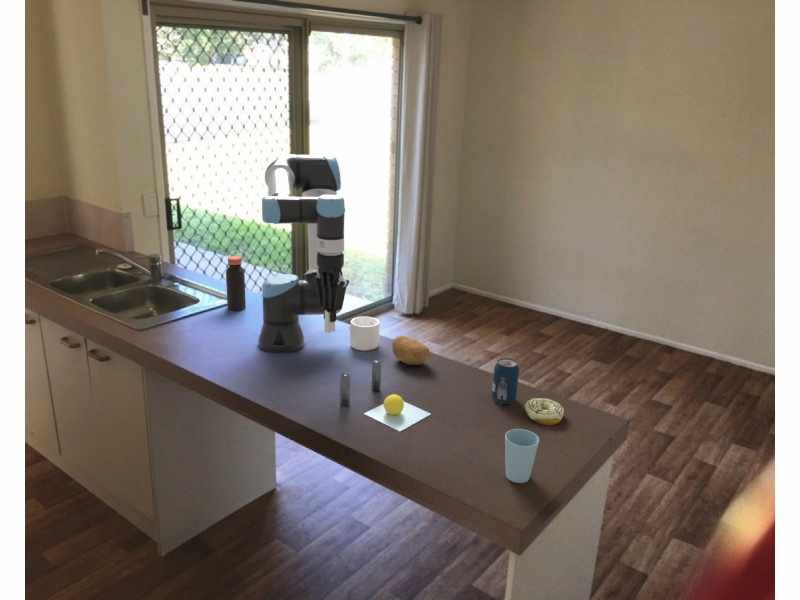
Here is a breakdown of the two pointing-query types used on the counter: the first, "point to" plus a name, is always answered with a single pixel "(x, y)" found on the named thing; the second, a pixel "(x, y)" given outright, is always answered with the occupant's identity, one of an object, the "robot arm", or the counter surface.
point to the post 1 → (345, 390)
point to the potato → (410, 350)
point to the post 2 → (376, 375)
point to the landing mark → (398, 416)
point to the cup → (520, 454)
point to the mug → (364, 333)
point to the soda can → (505, 381)
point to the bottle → (235, 284)
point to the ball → (393, 404)
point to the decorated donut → (544, 411)
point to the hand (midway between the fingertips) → (329, 331)
